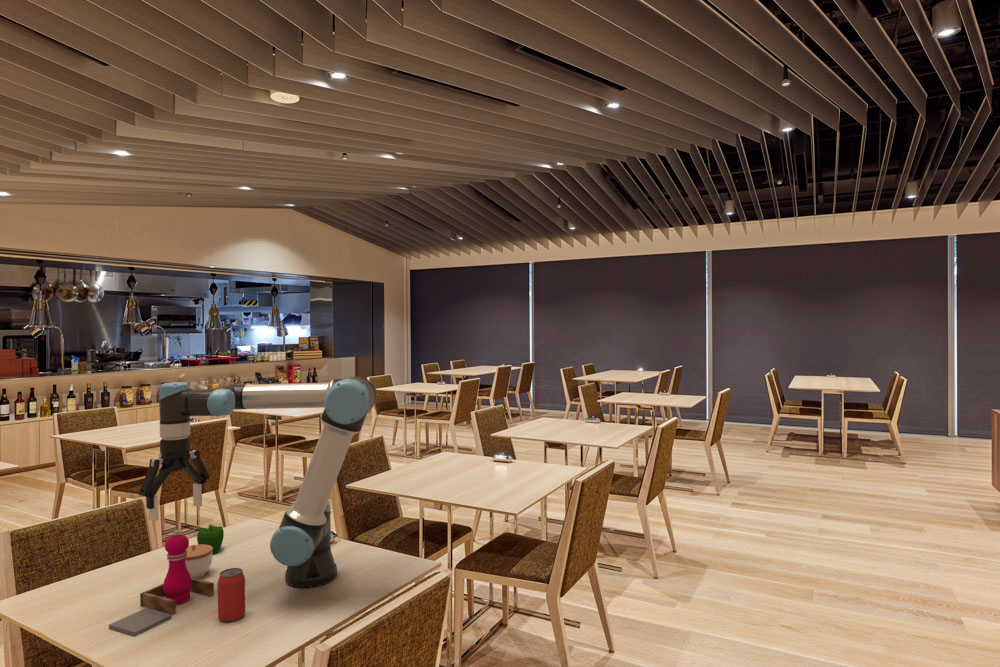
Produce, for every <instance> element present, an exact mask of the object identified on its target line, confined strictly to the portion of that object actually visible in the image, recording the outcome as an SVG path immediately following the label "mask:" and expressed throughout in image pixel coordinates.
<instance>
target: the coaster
mask: <svg viewBox="0 0 1000 667" xmlns="http://www.w3.org/2000/svg"><path fill="white" fill-rule="evenodd" d="M172 616H173V615H171V614H167V613H164V612H160V611H156V610H153V609H149V608H145V607H144V608H143V609H141V610H138V611H136V612H134V613H132V614H131V613H130V614H129V615H128V616H124V617H123V618H121V619H119V620H116V621H114V622H112V623H110V624H108V629H110V630H112V631H116V632H119V633H121V634H126V635H130V636H131V637H138V636H139V635H141V634H143V633H145V632H147V631H149V630H151V629H153V628H155V627H157V626H159V625H161V624H164V623H165V622H167V621H170V620H172Z"/></svg>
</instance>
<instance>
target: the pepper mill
mask: <svg viewBox="0 0 1000 667" xmlns="http://www.w3.org/2000/svg"><path fill="white" fill-rule="evenodd" d="M172 533H173V534H172V536H170V537H168V538H167V539H166V541H165V543H164V550H165V551H166V552H167V554H166V556H167V557H166V560H168V570H167V572H166V575H165V577H164V581H163V583H162V584H163V591H164V592H165V593H166V594H167V595H166V596H165V598H169V599H172V600H176V606H178V605H183V604H184V603H187V602H189V601H190V600H191V591H189V589H190V587H191V586H192V579H191V576H190V574H189V572H188V570H187V567H186V562H185V560H186V557H187V551H186V549H187V548H188V546H190V540H189V538H188V537H187V535H185V534H181V530H179V529H175V530H174V531H173V532H172Z"/></svg>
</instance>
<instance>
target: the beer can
mask: <svg viewBox="0 0 1000 667" xmlns="http://www.w3.org/2000/svg"><path fill="white" fill-rule="evenodd" d="M245 614H246V577H245V575H244V570H243V569H242V568H240V567H231V568H225V569H223V570H222V571H220V573H219V577H218V580H217V617H218V620H219V621H220V622H224V623H229V622H235V621H238V620H240V619H241V618H243V617H244V615H245Z"/></svg>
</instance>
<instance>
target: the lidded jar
mask: <svg viewBox="0 0 1000 667" xmlns="http://www.w3.org/2000/svg"><path fill="white" fill-rule="evenodd" d="M186 551H187V557H186V560H185V562H186V567H187V570H188V572H189V574H190V576H191V578H195V579H200V578H201V577H203V576H205V574H206V573H207V572H208V570H209V569H210V568H211V565H212V563H213V553H212V552H213V547H212V546H210V545H204V544H200V545H198V544H192V545H189V546H188V548H187V549H186Z"/></svg>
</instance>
